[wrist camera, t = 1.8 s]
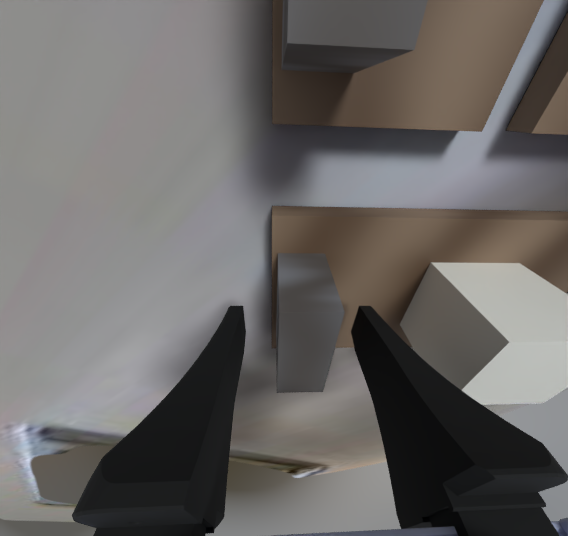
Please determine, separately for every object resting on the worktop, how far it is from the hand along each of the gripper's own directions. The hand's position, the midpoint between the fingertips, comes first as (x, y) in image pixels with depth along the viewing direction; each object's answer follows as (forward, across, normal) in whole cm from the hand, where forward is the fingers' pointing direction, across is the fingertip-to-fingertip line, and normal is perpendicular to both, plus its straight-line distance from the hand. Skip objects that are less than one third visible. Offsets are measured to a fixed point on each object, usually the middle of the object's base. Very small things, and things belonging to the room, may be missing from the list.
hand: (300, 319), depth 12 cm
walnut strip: (+3, -8, 0) cm, 8 cm away
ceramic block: (+2, -10, 0) cm, 10 cm away
